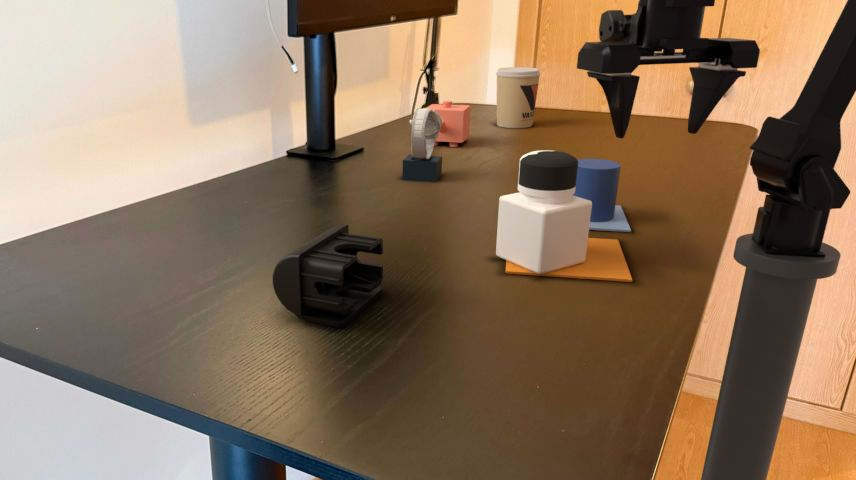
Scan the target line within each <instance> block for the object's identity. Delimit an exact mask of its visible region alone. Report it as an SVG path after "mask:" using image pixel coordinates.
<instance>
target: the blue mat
mask: <svg viewBox="0 0 856 480" xmlns="http://www.w3.org/2000/svg"><path fill="white" fill-rule="evenodd" d="M589 231H600V232H616V233H617V232H618V233H620V232H621V233H632V229H631V226H630V224H629V222H628V220H627V217H626V215H625V213H624V210H623V208H622V205H618V204H616V206H615V213H614V218H613V219H612V220H609V221H604V222H590V226H589Z"/></svg>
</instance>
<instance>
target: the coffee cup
mask: <svg viewBox="0 0 856 480" xmlns="http://www.w3.org/2000/svg"><path fill="white" fill-rule="evenodd" d="M495 75H496V126H498V127H500V128H507V129H525V128H526V129H527V128H531V127H532V126H533V122H534V116H535V109H536V102H537V98H538V96H537V95H538V90H539V89H538V88H539V83H540V82H539V81H540V77H541V72H540V69H539V68H536V67H535V68H534V67H525V66H524V67H523V66H522V67H521V66H520V67H519V66H518V67H517V66H516V67H515V66H513V67H511V66H510V67H500V68H498V69H497V71H496V74H495Z"/></svg>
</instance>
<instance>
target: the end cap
mask: <svg viewBox="0 0 856 480" xmlns="http://www.w3.org/2000/svg"><path fill="white" fill-rule="evenodd" d="M349 231H350V230H349V224H338V225H334V226H332V227H331V228H329V229H327V230H326V231H324V232H322V233H321V234H319V235H318V236H316V237H314V238H313V239H311V240H309V241H308V242H306V243H305V244H302V245H301V246H299V247H298V248H296V249H294V250H293V251H292V252H290V253H288V254H287V255H285V256H283V257H282V258H281V259H279V261H278V262H277V263H276V265H275V267H274V269H273V273H272V287H273V290H274V293H275V295H276V297H277V299H278V301H279V302H280V304H282V306H283V307H284V308H285V309H286V310H288V311H289V312H290V313H292V314H294V315H295V316H296V317H297V318H298V319H299V320H302V321H304V322H307V323H311V324H315V325H321V326H325V327H330V328H335V329H343V328H345V327H346V326H348V324H350V323H351V322H352V321H353V320H355V318H357V317H358V316H359V315H360V314H361V313H362V312H364V310H365V309H367V308H368V307H369V306H370V305H371V304H372V303H373V302H374V301H376V300H377V299H378V298H379V297H380V296H381V294H382V288H381V287H380V286H381V284H382V283H383V279H384V265H381V264H375V263H368V262H363V261H360V260H359V258H358V253H359V252H361V253H365V254H374V255H379V256H382V255H383V254H384V239H383V238H381V237H375V236H368V235H362V234H355V233H350V232H349Z"/></svg>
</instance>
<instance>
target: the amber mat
mask: <svg viewBox="0 0 856 480" xmlns="http://www.w3.org/2000/svg"><path fill="white" fill-rule="evenodd" d="M505 274H508V275H509V274H510V275H523V276H524V275H525V276H537V277H552V278H568V279H580V280H597V281H611V282H624V283H625V282H626V283H633V277H632V275H631V271H630V269H629V266H628V264H627V261H626V258H625V255H624V252H623V250H622V247H621V243H620V241H619V239H618V238H617V239H616V238H599V237H588V242H587V251H586V259H585V262H583V263H580V264H576V265H573V266H569V267H565V268H562V269H558V270H555V271H551V272H547V273H544V274H536V273H534V272H532V271H529V270H527V269H525V268H523V267H520V266H518V265H516V264H514V263H511V262H509V261H507V260H505Z"/></svg>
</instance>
